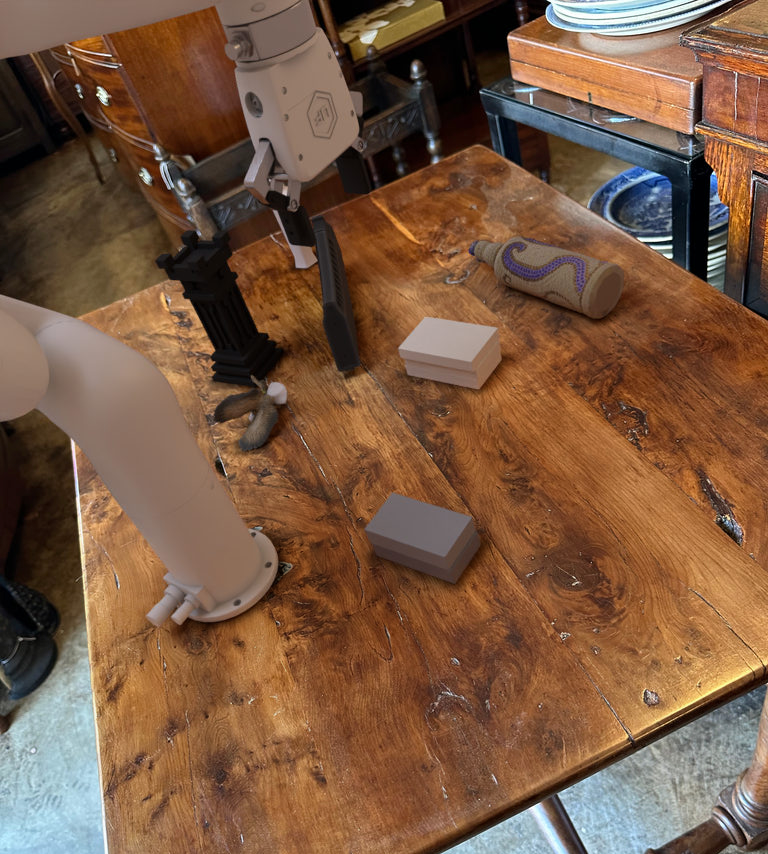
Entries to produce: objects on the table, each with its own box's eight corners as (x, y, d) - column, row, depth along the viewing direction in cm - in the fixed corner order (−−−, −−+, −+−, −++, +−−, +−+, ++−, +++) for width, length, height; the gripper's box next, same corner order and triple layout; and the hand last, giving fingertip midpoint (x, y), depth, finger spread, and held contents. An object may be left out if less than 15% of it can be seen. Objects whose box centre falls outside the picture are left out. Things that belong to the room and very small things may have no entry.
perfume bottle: (289, 263, 135) (257, 179, 124) (312, 252, 136) (282, 168, 125) (298, 273, 132) (266, 188, 121) (321, 262, 132) (291, 176, 122)
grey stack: (455, 584, 80) (446, 557, 77) (375, 555, 86) (363, 529, 83) (481, 544, 83) (474, 517, 80) (402, 518, 88) (392, 492, 85)
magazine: (346, 329, 100) (313, 171, 114) (322, 336, 100) (291, 178, 114) (375, 403, 115) (343, 255, 129) (354, 409, 116) (324, 261, 129)
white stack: (480, 390, 100) (476, 370, 97) (407, 375, 106) (401, 356, 103) (503, 359, 102) (499, 339, 100) (431, 346, 108) (426, 327, 106)
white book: (473, 372, 97) (471, 361, 96) (400, 358, 103) (397, 348, 102) (499, 337, 100) (498, 327, 99) (427, 326, 106) (425, 316, 105)
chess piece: (213, 381, 117) (150, 262, 103) (243, 347, 121) (186, 228, 107) (255, 387, 113) (196, 264, 99) (284, 352, 117) (231, 229, 103)
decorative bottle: (630, 299, 104) (628, 254, 99) (591, 330, 102) (587, 286, 97) (494, 250, 121) (486, 210, 116) (458, 276, 119) (449, 236, 114)
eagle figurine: (246, 395, 110) (206, 429, 104) (256, 358, 105) (215, 392, 99) (290, 425, 110) (253, 461, 104) (303, 390, 104) (264, 426, 98)
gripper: (239, 76, 61) (310, 270, 73) (362, -13, 69) (408, 175, 81) (174, 79, 65) (252, 262, 77) (298, -6, 73) (350, 173, 85)
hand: (332, 217), depth 79 cm, fingers open, 9 cm apart
